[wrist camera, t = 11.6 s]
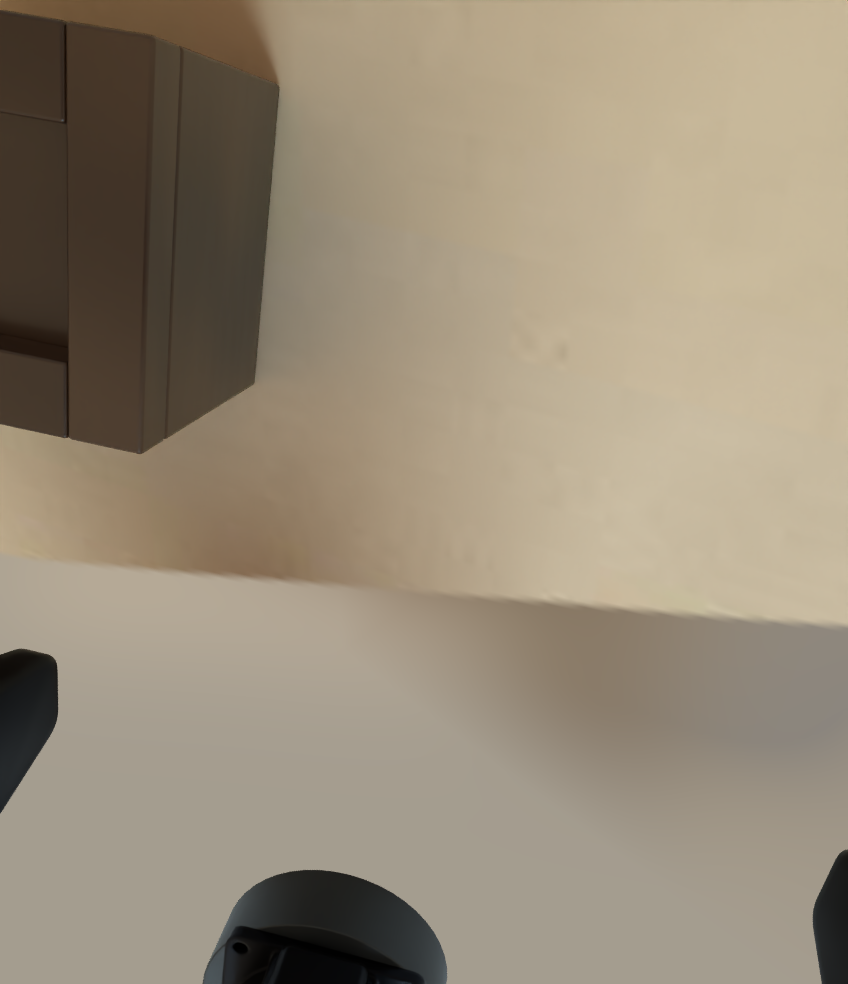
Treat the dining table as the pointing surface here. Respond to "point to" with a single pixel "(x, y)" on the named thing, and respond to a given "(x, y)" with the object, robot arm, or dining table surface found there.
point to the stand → (127, 230)
